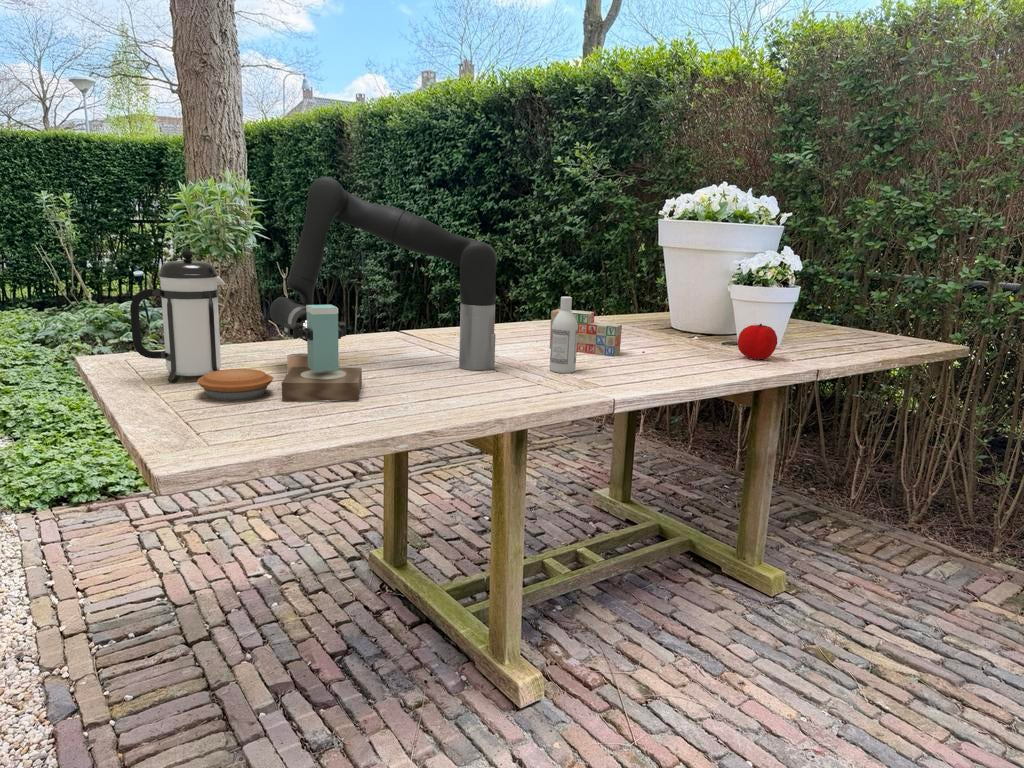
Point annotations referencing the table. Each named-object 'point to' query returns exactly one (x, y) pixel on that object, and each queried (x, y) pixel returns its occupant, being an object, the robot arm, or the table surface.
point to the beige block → (297, 360)
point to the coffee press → (185, 318)
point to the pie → (235, 384)
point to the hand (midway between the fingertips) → (325, 335)
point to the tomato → (757, 341)
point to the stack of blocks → (594, 334)
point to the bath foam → (564, 339)
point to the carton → (323, 338)
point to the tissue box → (322, 384)
